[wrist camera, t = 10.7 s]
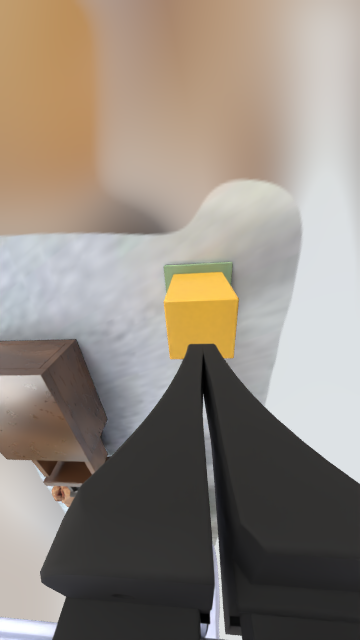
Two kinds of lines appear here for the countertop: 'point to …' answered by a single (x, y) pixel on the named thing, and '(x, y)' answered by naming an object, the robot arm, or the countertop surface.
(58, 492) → the cookie
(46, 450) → the cabinet
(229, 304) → the block
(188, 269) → the pad
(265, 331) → the countertop surface
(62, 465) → the drawer
